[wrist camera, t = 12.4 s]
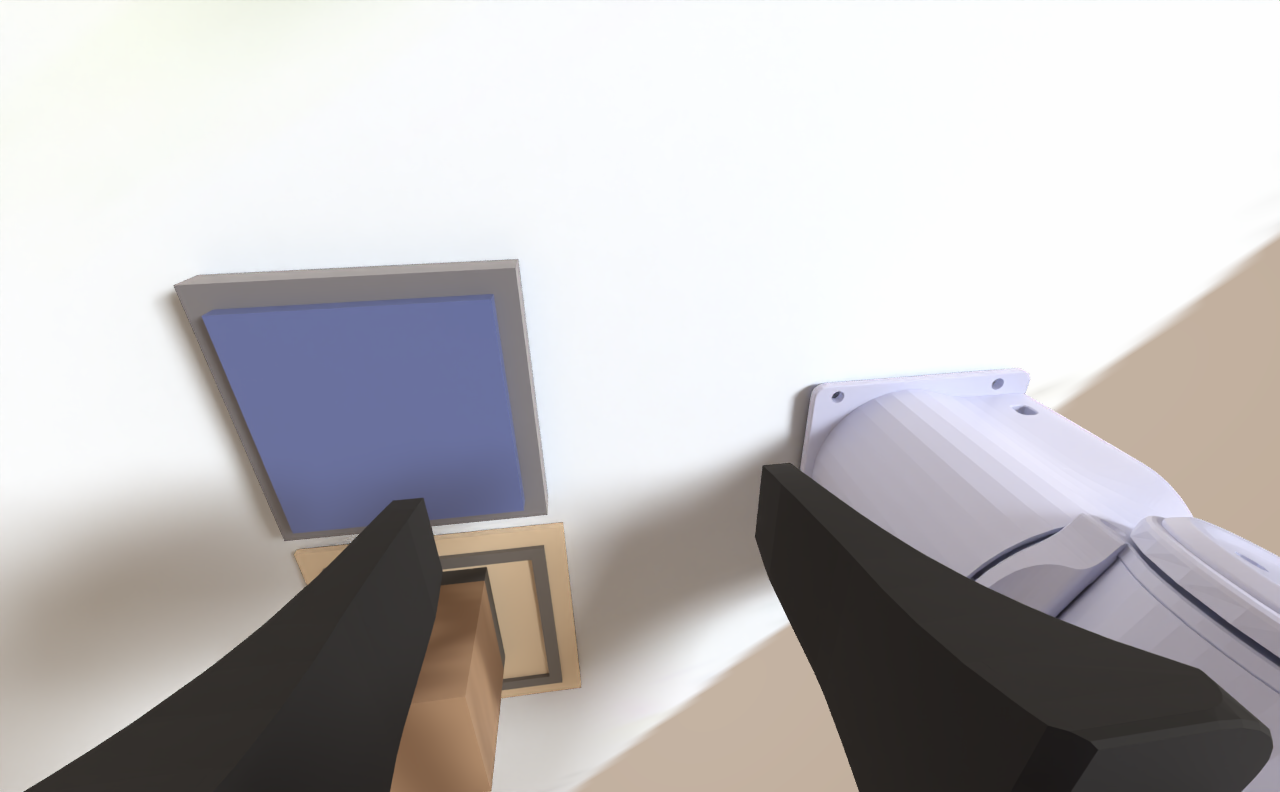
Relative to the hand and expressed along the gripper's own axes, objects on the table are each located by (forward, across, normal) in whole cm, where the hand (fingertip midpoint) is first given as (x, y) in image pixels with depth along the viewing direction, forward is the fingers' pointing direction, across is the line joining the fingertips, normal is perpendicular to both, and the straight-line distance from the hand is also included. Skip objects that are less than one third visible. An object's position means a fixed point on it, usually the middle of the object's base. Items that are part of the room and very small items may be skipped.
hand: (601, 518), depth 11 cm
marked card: (+9, +7, +14) cm, 18 cm away
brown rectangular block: (+9, +7, +13) cm, 17 cm away
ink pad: (+9, +7, +2) cm, 12 cm away
